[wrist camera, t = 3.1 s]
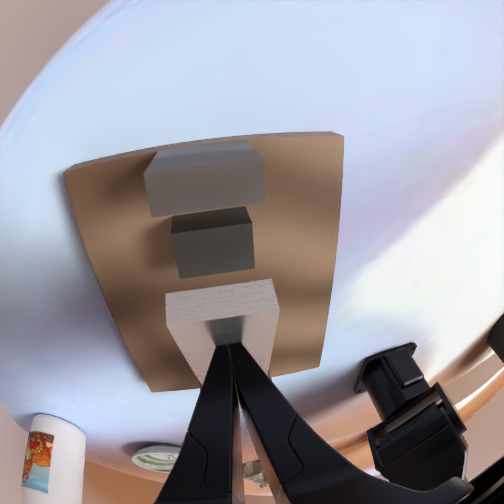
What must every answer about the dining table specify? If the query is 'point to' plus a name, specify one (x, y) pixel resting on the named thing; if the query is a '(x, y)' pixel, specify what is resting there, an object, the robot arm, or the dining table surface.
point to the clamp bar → (223, 321)
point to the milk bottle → (53, 462)
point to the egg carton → (255, 474)
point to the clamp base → (275, 249)
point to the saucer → (157, 457)
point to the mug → (497, 338)
